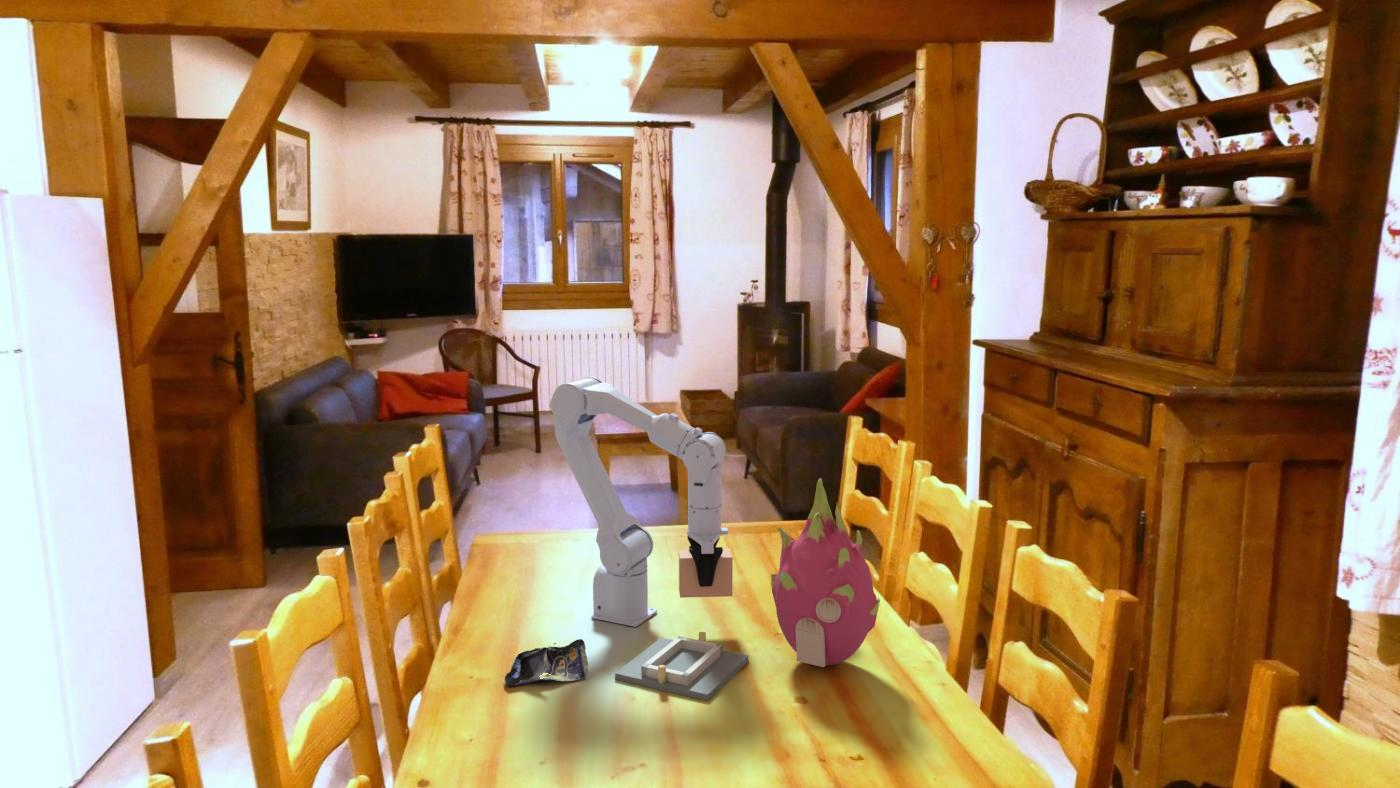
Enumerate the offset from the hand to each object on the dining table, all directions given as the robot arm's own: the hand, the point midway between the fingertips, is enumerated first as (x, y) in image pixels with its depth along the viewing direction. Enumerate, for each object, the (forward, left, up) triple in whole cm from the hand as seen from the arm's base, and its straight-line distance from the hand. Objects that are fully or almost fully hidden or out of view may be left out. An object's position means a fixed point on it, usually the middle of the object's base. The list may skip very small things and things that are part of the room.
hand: (704, 580), depth 167 cm
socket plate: (+4, -16, -9) cm, 19 cm away
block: (0, 0, -2) cm, 2 cm away
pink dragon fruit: (+23, -4, -9) cm, 25 cm away
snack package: (-14, -27, -9) cm, 32 cm away
